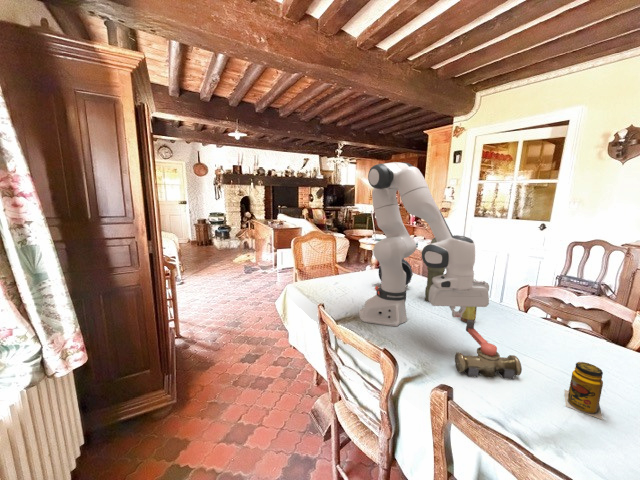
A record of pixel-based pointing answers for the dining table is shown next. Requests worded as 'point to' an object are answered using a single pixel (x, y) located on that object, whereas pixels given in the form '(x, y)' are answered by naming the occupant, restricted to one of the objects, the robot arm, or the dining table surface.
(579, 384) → the condiment
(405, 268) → the ring
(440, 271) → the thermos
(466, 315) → the sauce bottle
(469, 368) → the valve body
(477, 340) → the lever
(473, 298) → the robot arm
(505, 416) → the dining table surface
